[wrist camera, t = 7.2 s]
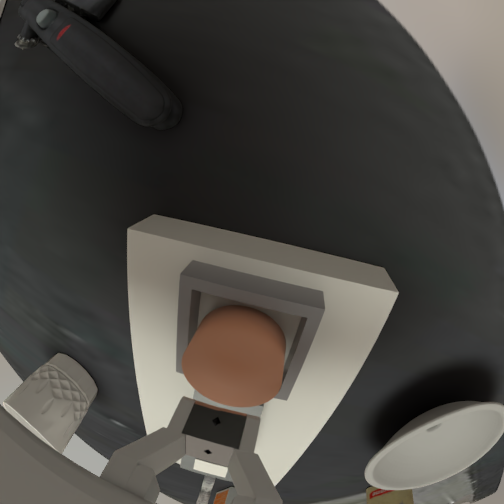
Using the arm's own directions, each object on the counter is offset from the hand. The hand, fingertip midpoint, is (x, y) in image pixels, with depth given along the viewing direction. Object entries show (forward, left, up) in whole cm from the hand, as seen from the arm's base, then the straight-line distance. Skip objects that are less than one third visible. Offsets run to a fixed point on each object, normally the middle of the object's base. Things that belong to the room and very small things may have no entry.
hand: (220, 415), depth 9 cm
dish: (+10, +20, -9) cm, 24 cm away
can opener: (-15, -13, -9) cm, 22 cm away
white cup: (+17, -18, -9) cm, 26 cm away
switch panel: (+9, 0, -9) cm, 12 cm away
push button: (0, 0, -4) cm, 4 cm away
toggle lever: (+18, 0, -5) cm, 18 cm away
